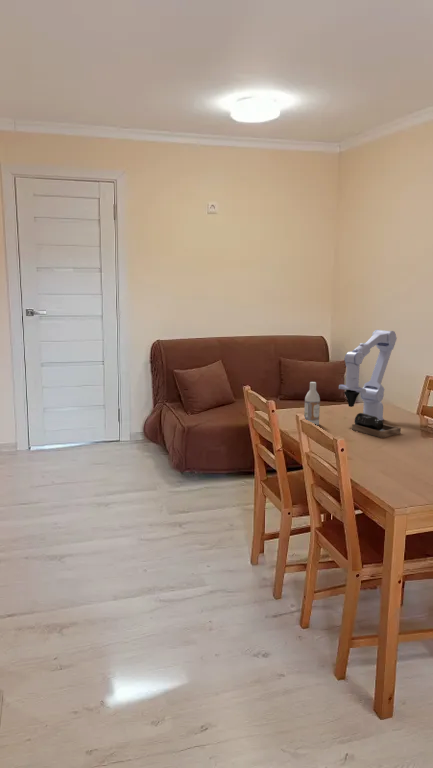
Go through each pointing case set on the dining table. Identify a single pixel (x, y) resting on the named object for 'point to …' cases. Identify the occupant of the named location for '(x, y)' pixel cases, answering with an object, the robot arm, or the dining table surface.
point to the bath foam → (312, 405)
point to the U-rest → (384, 432)
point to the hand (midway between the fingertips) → (351, 406)
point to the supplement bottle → (368, 421)
